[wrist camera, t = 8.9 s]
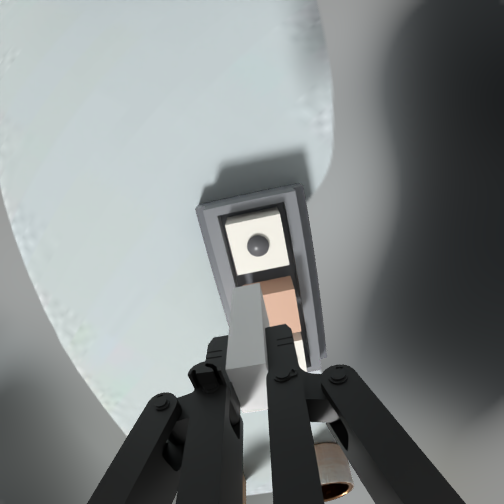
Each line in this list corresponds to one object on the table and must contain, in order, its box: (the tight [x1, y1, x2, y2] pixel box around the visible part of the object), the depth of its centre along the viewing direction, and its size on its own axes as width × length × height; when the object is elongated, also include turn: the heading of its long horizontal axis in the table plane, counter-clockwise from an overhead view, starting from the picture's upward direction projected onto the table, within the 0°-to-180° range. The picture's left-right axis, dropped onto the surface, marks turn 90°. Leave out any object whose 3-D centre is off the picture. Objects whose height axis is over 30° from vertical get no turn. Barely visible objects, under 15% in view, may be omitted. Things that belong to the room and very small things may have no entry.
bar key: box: [292, 332, 307, 372], centre depth 34 cm, size 5×5×3 cm
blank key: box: [243, 276, 301, 333], centre depth 31 cm, size 5×5×3 cm
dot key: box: [225, 207, 289, 275], centre depth 29 cm, size 5×5×3 cm
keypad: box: [195, 183, 327, 372], centre depth 33 cm, size 22×11×4 cm, turn 12°
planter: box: [314, 443, 354, 502], centre depth 44 cm, size 11×11×10 cm
